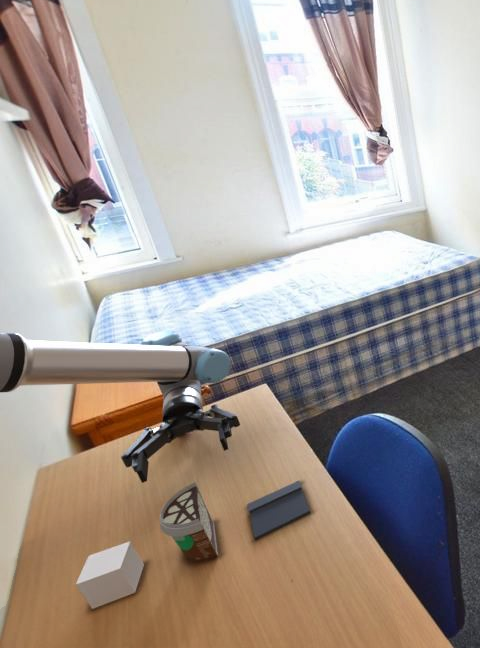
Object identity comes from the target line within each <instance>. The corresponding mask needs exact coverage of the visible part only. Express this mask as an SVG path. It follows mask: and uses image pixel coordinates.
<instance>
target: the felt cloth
mask: <svg viewBox="0 0 480 648" xmlns="http://www.w3.org/2000/svg"><path fill="white" fill-rule="evenodd" d="M305 496H306V495H305V494H304V490H303V488H302V485H301V483H300V480H298V481H295V482H293V483H291V484H287V485H286V486H284V487H281V488H279V489H277V490H276V491H273V492H271V493H268V494H266V495H264V496H261V497H260V498H257V499H255V500H253V501H250V502H249V503H247V511H248V513H249V516H250V522H251V527H252V533H253V537H254V540H256V541H257V540H259V539H260V538H263V537H265V536H266V535H268V534H270V533H273V532H275V531H277V530H279V529H281V528H283V527H285V526H287V525H289V524H291V523H293V522H295V521H297V520H299V519H301V518H303V517H306V516H307V515H309V514H311V510H310V507H309V504H308V501H307V498H306V497H305Z"/></svg>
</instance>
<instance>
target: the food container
mask: <svg viewBox="0 0 480 648" xmlns="http://www.w3.org/2000/svg"><path fill="white" fill-rule="evenodd" d="M199 489H200V488H199V486H198V484H197V482H195V481H194V482H192V483H190V484H188V485H186V486H184V487H182V488H181V489H180V490H178V491H176V492H175V493H174V494H173V495H171V496H170V497H169V499H167V500H166V502H165V503H164V505H163V506H162V508H161V510H160V512H159V513H160V514H159V525H160V530H161V531H162V533H163V534H164V535H166V536H169V537H171V538H172V539H173V541H174V542H175V543H176V545H177V547H178V548H179V549H180V551H181V552H182V553H183V555H184V556H185V558H186V559H187V560H188V561H190V562H192V563H201V562H207V561H210V560H213V559H215V558H217V557H219V553H218V545H217V537H216V530H215V523H214V520H213V519H212V517H211V514H210V512H209V510H208V508H207V504H206V502H205V500H204V499H203V496H202V494H201V492H200V490H199Z"/></svg>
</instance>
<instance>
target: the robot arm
mask: <svg viewBox="0 0 480 648" xmlns="http://www.w3.org/2000/svg"><path fill="white" fill-rule="evenodd" d="M231 367H232V361H231V358H230V356H229V355H228V354H227V352H225V351H223V350H220V349H217V348H214V347H206V346H198V345H193V344H189V343H185V342H184V343H183V338H181V336H180V334H179V333H178V332H177V331H175V330H163V331H158V332H156V333H153V334H150V335H148V336H146V337H145V338H144V339H142V341H141V342H140V344H133V343H132V344H129V343H128V344H127V343H102V342H81V341H80V342H79V341H57V340H36V339H35V340H33V339H26V338H25V337H24V336H23V335H21V334H20V333H17V332H16V333H14V332H0V393H12V392H14V391H15V390H17V388H19V387H22V386H48V385H49V386H51V385H52V386H54V385H56V386H57V385H85V384H87V385H88V384H89V385H91V384H92V385H93V384H119V383H121V384H122V383H123V384H124V383H157V386H158V388H159V390H160V392H161V394H162V398H163V399H162V415H161V416H162V417H161V420H162V421H161V422H162V423H161V424H160V425H159V427H156V428H153V429H152V427H150V426H147V427H145V428H144V429H143V431H142V433H141V434H140V436H139V437H138V438H137V439H135V441H134V442H133V443H132V444H131V445H130V446H129V447H128V448H127V450H126V451H124V453H123V454H122V455H121V456H120V459H121V460H122V462H123V464H124V466H125V468H130V467H131V468H132V469H133V471H134V473H136V474H137V476H138V478H139V480H140V481H141V483H142V484H144V483H146V482H148V475H149V459H150V458H151V457H153V455H155V454H156V453H157V452H158V451H160V449H162V448H163V447H164V446H165V445H166V444H171V443H172V442H173V441H174V440H175V439H176V438H178V437H181V436H183V435H186V433H189V432H190V433H192V432H194V431H201V432H203V431H206V430H207V431H212V432H213V431H214V432H218V438H219V442H220V444H221V446H222V449H223V452H225V451H228V450H229V444H228V438H231V437H232V435H233V433H232V428H238V427H240V426H241V422H240V420H239V418H238V415H237V414H235V413H232V412H231V411H228V410H225V409H223V408H220V407H219V406H218V404H212V405H211V406H210V408H209V409H208V410H206V411H204V407H203V398H202V383H203V384H218V383H219V382H221V381H223V380H224V379H226V377H227V376H228V375H229V374H230V371H231Z"/></svg>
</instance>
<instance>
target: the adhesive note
mask: <svg viewBox="0 0 480 648" xmlns="http://www.w3.org/2000/svg"><path fill="white" fill-rule="evenodd" d="M144 566H145V564H144V562H143V560H142V559H141V557H140V555H139V554H138V551H137V550H136V548H135V547H134V545H133V543H132V541H131V540H129V541H126V542H124V543H121V544H117V545H115V546H113V547H109V548H106V549H104V550H101V551H98V552H95V553H93V554H89V555H88V557H87V558H86V561H85V563H84V565H83V568H82V569H81V572H80V574H79V576H78V578H77V581H76V583H75V587H77V589H78V591H79V592H80V593H81V595H82V596H83V598H84V600H85V601H86V602H87V604H88V605H89V607H90V609H92V610H95V609H96V608H99V607H102V606H104V605H106V604H107V605H108V604H109V603H112V602H115V601H117V600H120V599H122V598H125V597H128V596H130V595H133V594H136V593H137V592H136V591H137V588H138V585H139V582H140V579H141V575H142V572H143V569H144Z"/></svg>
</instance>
